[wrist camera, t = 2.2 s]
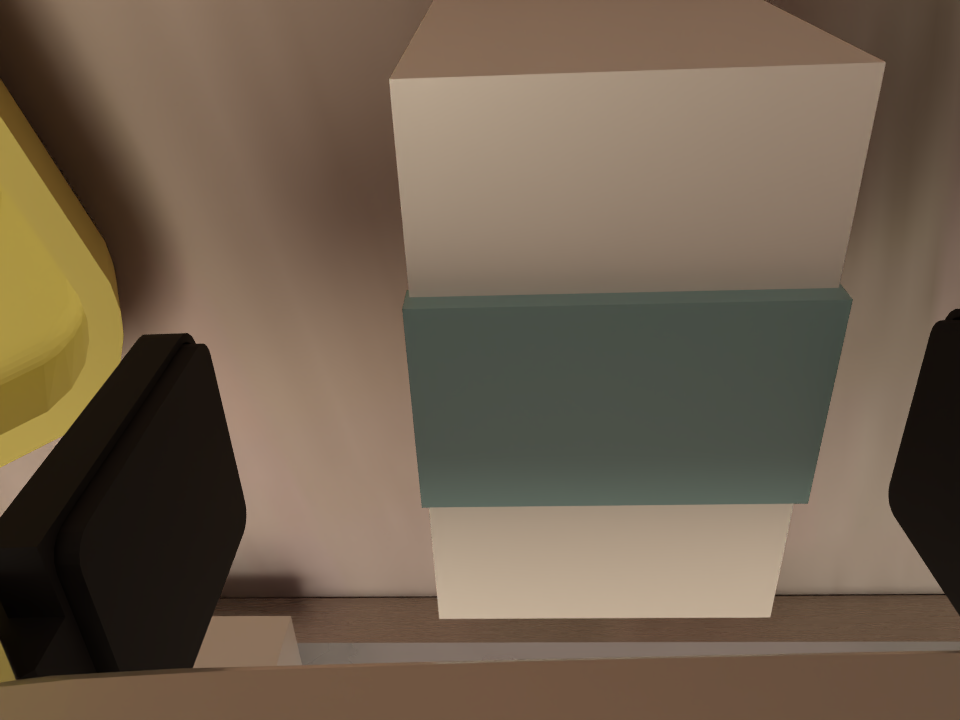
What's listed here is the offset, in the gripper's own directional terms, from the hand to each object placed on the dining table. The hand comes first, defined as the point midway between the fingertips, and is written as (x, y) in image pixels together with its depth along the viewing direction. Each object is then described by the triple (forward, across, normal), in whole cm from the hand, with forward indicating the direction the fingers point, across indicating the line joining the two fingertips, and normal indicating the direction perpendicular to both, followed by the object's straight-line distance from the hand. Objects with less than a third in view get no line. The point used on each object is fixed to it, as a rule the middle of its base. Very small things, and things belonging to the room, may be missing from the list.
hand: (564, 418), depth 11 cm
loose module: (+7, -1, -1) cm, 7 cm away
